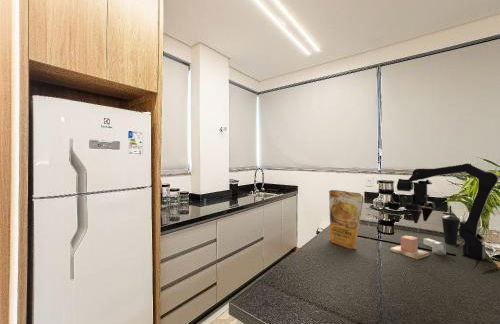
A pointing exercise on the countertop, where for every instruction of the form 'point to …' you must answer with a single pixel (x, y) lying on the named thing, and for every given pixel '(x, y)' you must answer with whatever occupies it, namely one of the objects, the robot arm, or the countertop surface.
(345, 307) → the countertop surface
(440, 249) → the grey cylinder
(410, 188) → the robot arm
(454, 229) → the drinking cup
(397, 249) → the birch board
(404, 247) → the terracotta block
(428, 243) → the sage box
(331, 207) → the pancake mix bag
